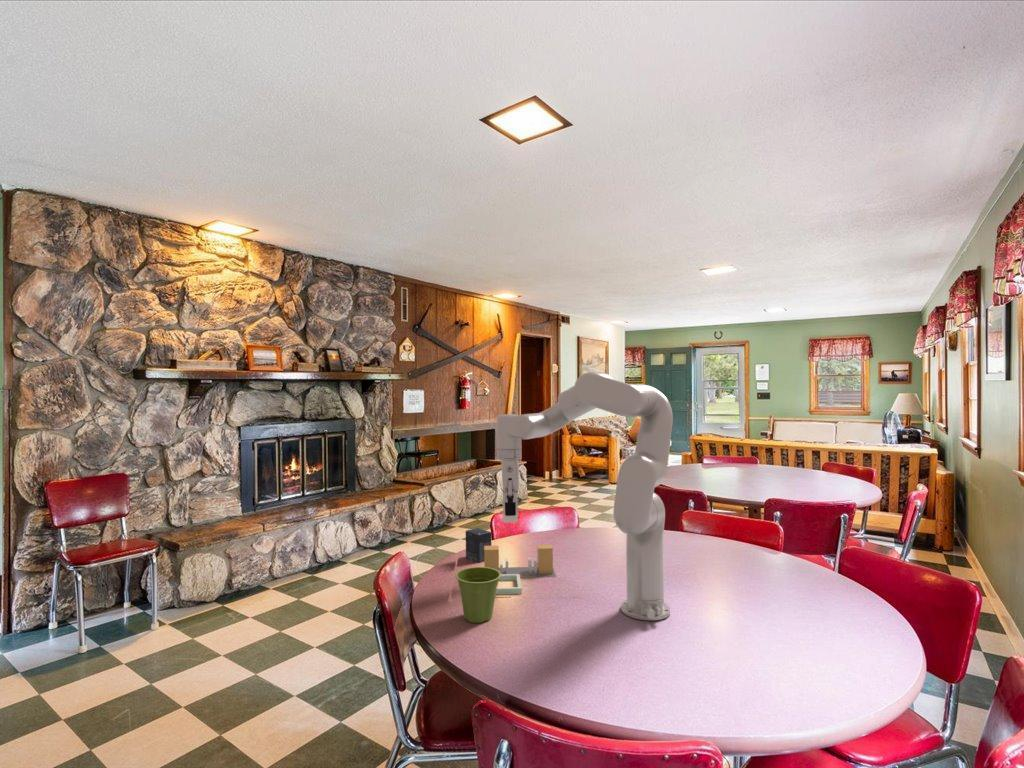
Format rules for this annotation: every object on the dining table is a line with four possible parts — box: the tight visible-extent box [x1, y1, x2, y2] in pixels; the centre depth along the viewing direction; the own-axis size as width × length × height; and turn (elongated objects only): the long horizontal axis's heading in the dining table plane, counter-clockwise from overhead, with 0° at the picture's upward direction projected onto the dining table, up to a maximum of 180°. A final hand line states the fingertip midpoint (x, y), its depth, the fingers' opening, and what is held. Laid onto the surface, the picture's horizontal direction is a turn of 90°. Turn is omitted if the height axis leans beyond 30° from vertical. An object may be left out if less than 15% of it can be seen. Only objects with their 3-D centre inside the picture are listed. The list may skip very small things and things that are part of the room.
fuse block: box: [483, 543, 557, 579], centre depth 170 cm, size 10×23×9 cm, turn 92°
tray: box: [495, 574, 523, 599], centre depth 157 cm, size 12×12×2 cm
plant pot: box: [455, 566, 501, 624], centre depth 138 cm, size 12×12×11 cm
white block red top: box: [502, 488, 519, 523], centre depth 165 cm, size 4×4×10 cm
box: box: [465, 527, 492, 564], centre depth 184 cm, size 8×6×11 cm
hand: (510, 512), depth 165 cm, fingers closed on white block red top, 4 cm apart
